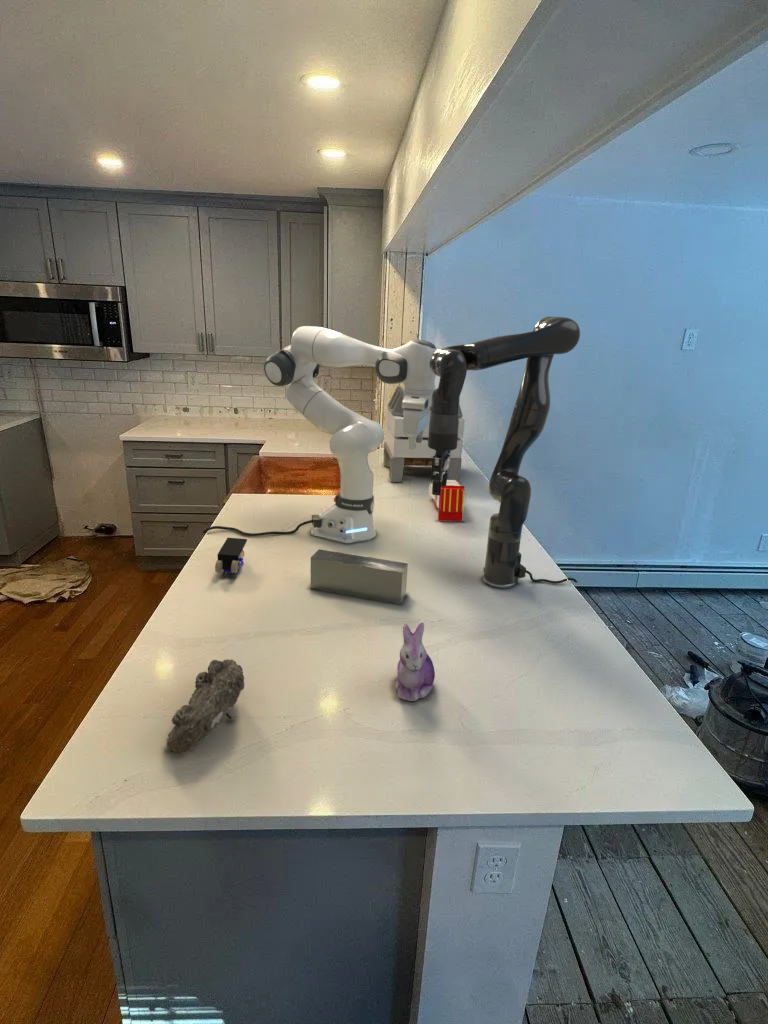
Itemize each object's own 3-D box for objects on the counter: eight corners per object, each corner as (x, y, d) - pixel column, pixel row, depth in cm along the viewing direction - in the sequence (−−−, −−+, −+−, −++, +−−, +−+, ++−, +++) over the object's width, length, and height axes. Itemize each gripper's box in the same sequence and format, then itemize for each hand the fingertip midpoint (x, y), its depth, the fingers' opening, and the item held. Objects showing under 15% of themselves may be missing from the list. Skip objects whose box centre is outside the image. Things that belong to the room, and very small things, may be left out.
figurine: (406, 709, 112) (411, 644, 107) (383, 680, 121) (386, 618, 116) (446, 696, 116) (452, 633, 111) (420, 669, 125) (425, 609, 120)
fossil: (192, 660, 117) (244, 628, 112) (224, 691, 120) (276, 661, 115) (142, 746, 98) (202, 712, 93) (182, 779, 101) (242, 748, 96)
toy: (456, 475, 238) (469, 487, 209) (454, 506, 241) (466, 522, 212) (427, 474, 238) (436, 486, 209) (426, 505, 241) (434, 521, 211)
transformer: (382, 463, 289) (386, 382, 275) (445, 464, 293) (451, 384, 279) (390, 482, 257) (394, 392, 243) (460, 483, 261) (468, 394, 247)
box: (310, 588, 159) (310, 557, 156) (318, 579, 164) (318, 549, 161) (400, 604, 152) (402, 572, 149) (405, 594, 158) (407, 563, 155)
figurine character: (238, 584, 162) (249, 557, 175) (236, 562, 158) (247, 536, 172) (215, 584, 161) (227, 556, 175) (212, 561, 158) (225, 535, 171)
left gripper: (415, 393, 174) (412, 437, 178) (400, 402, 155) (397, 452, 160) (436, 395, 172) (432, 439, 177) (423, 404, 153) (419, 454, 158)
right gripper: (453, 436, 138) (448, 500, 143) (462, 426, 150) (457, 484, 156) (423, 434, 139) (419, 496, 145) (434, 423, 152) (430, 481, 158)
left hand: (415, 445), depth 168 cm, fingers open, 8 cm apart
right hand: (439, 490), depth 151 cm, fingers open, 8 cm apart
